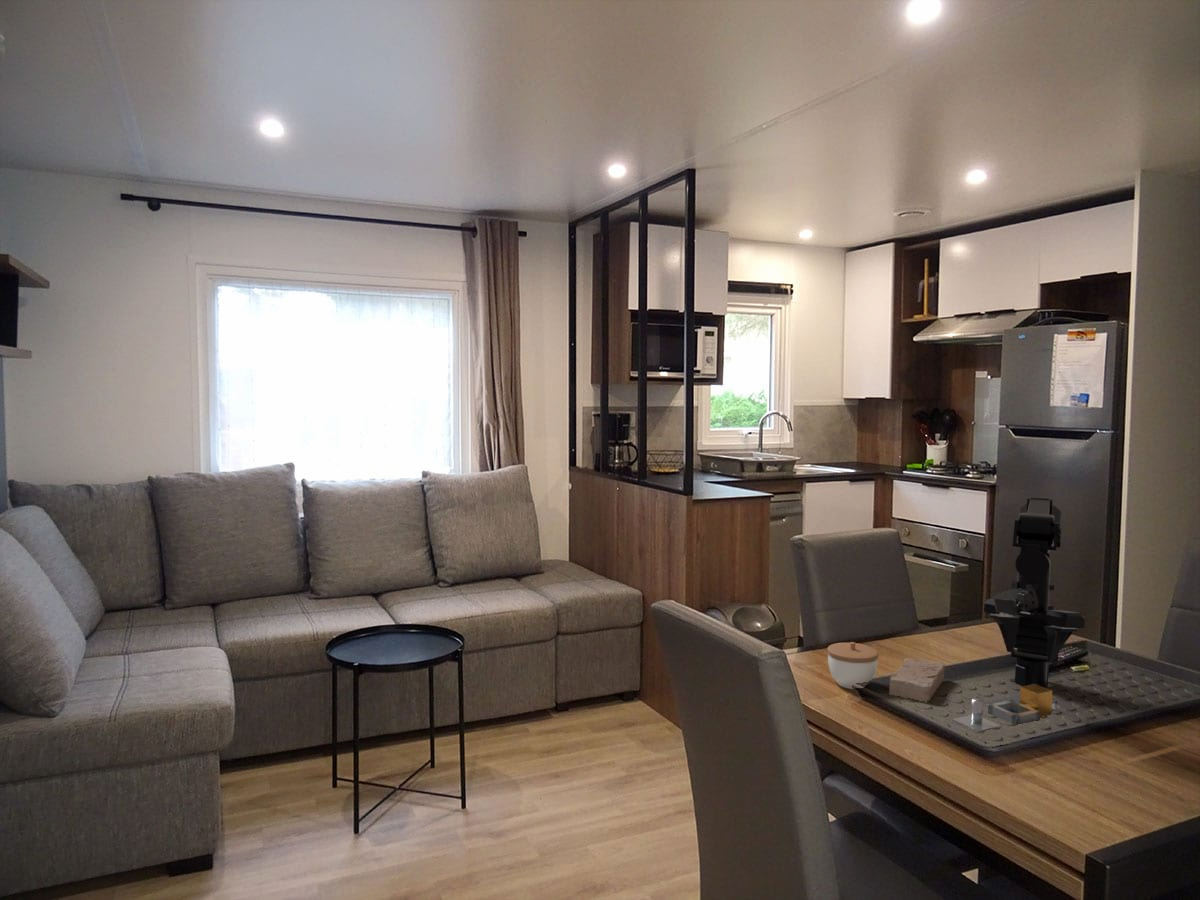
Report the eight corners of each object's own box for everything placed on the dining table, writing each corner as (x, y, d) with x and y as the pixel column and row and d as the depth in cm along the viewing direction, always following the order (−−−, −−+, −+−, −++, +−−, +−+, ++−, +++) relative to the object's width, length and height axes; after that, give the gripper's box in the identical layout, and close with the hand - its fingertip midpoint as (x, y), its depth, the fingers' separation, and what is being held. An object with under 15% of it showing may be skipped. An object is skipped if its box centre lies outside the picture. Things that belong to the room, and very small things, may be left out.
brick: (928, 707, 164) (929, 685, 164) (887, 698, 169) (887, 677, 168) (944, 683, 178) (945, 662, 177) (905, 675, 182) (906, 655, 182)
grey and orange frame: (1037, 703, 164) (1038, 680, 163) (1066, 715, 158) (1067, 690, 157) (988, 714, 158) (989, 689, 158) (1016, 726, 152) (1017, 701, 152)
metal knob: (974, 717, 157) (975, 692, 156) (1000, 729, 151) (1001, 703, 151) (952, 722, 154) (952, 696, 154) (977, 735, 149) (978, 708, 148)
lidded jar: (819, 676, 181) (820, 635, 180) (865, 674, 182) (866, 634, 181) (837, 694, 170) (838, 651, 170) (885, 692, 171) (887, 650, 171)
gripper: (965, 570, 165) (961, 647, 164) (1046, 582, 147) (1042, 667, 146) (1005, 573, 169) (1001, 647, 168) (1088, 584, 151) (1084, 667, 150)
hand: (1029, 656), depth 158 cm, fingers open, 9 cm apart
